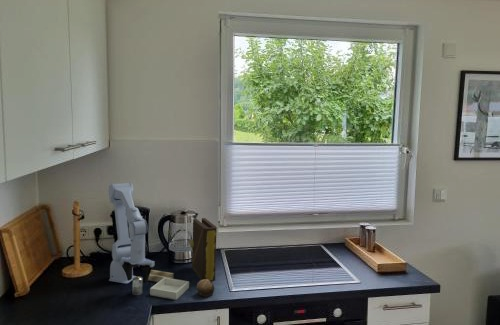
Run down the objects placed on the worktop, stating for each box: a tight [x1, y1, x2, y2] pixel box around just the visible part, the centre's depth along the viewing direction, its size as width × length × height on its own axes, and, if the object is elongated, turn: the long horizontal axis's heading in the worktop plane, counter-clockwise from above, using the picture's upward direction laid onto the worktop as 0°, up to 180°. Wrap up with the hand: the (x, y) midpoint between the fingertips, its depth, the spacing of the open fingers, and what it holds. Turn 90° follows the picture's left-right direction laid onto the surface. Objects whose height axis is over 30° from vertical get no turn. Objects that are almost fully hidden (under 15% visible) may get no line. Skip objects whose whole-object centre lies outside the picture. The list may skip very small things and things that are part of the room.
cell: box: [132, 275, 144, 296], centre depth 158 cm, size 4×4×7 cm
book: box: [189, 217, 218, 283], centre depth 181 cm, size 22×8×25 cm, turn 25°
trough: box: [148, 269, 174, 283], centre depth 173 cm, size 12×6×2 cm, turn 74°
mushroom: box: [196, 279, 215, 297], centre depth 160 cm, size 8×8×6 cm
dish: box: [149, 278, 190, 301], centre depth 161 cm, size 12×12×3 cm
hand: (137, 281), depth 158 cm, fingers open, 7 cm apart
